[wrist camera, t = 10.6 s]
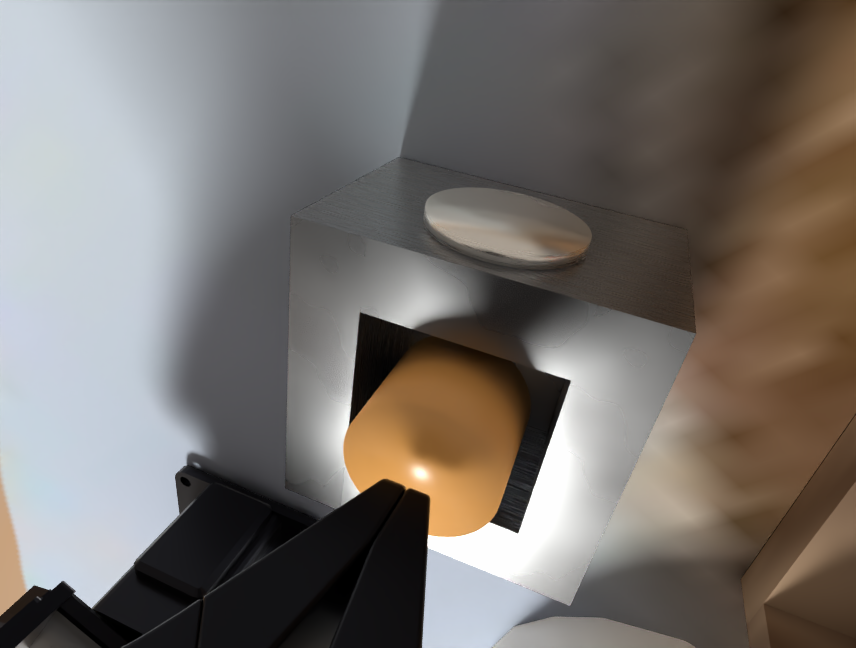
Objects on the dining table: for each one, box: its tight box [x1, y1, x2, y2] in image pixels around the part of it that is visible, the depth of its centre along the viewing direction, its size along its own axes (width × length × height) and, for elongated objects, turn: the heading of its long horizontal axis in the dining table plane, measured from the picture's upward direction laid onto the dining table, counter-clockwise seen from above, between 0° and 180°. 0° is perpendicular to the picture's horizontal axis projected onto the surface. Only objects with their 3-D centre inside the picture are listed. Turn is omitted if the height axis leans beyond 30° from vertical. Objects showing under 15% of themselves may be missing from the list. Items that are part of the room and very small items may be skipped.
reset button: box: [343, 336, 531, 537], centre depth 12 cm, size 3×3×4 cm
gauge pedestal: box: [285, 157, 696, 606], centre depth 13 cm, size 7×7×5 cm
